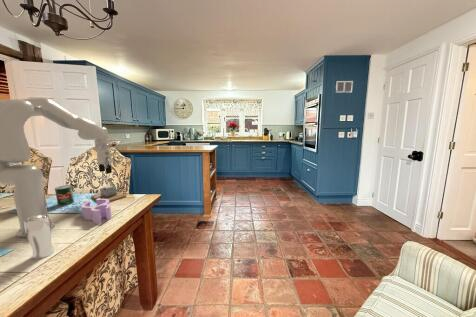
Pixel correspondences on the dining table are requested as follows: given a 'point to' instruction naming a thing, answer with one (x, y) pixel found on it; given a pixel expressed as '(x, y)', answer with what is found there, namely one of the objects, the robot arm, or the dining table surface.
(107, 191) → the collar
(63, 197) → the canned tomato
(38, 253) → the beer glass
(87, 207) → the clip
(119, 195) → the dock
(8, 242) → the dining table surface
